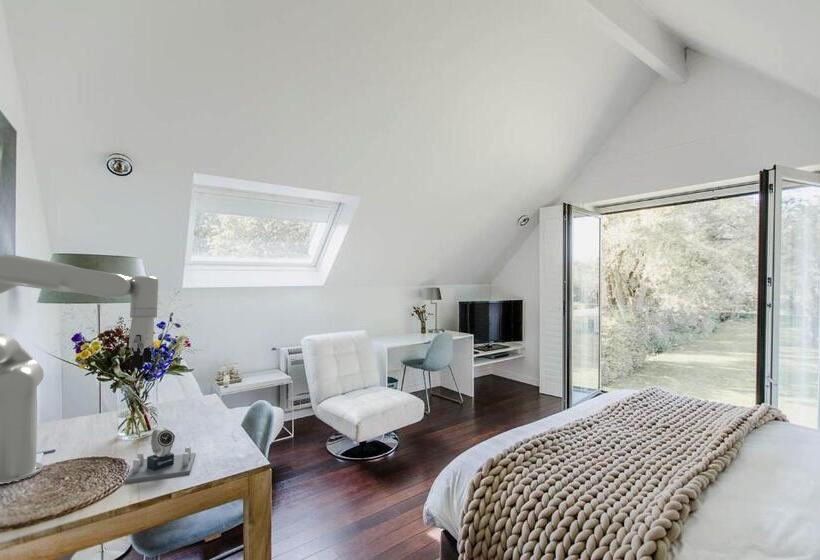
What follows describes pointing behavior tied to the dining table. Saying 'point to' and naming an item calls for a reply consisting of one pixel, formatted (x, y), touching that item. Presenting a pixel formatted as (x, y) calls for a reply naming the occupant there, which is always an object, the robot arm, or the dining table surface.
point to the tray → (178, 468)
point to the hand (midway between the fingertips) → (141, 365)
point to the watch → (161, 449)
